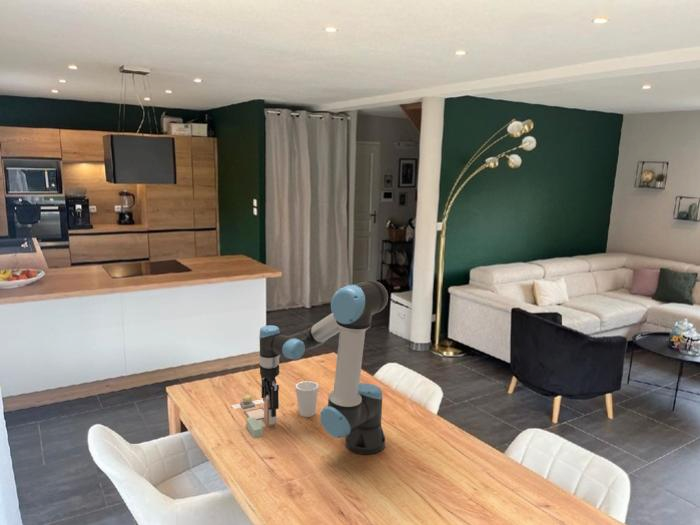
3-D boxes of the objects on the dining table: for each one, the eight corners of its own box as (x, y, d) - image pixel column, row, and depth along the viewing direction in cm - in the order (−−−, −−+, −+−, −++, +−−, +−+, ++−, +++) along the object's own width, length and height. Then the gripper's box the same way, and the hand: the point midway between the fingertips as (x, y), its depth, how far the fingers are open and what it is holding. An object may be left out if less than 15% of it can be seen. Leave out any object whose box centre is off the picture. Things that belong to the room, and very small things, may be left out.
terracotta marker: (275, 425, 207) (275, 396, 205) (267, 427, 205) (267, 398, 203) (272, 421, 210) (272, 393, 208) (264, 423, 208) (264, 394, 206)
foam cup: (307, 422, 211) (307, 392, 209) (290, 415, 217) (291, 386, 214) (322, 414, 219) (323, 385, 216) (306, 407, 224) (306, 379, 222)
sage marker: (262, 436, 198) (262, 428, 198) (254, 438, 197) (254, 430, 196) (253, 423, 207) (253, 415, 206) (245, 425, 205) (245, 417, 205)
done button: (252, 400, 222) (252, 396, 221) (244, 402, 220) (244, 398, 220) (250, 397, 225) (249, 393, 224) (241, 399, 223) (241, 394, 223)
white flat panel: (286, 428, 206) (286, 424, 205) (252, 437, 199) (252, 432, 199) (262, 400, 230) (262, 396, 229) (231, 407, 223) (231, 402, 223)
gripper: (287, 371, 197) (287, 428, 201) (270, 355, 213) (270, 408, 217) (268, 375, 193) (269, 432, 198) (252, 358, 209) (253, 412, 213)
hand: (270, 420), depth 207 cm, fingers open, 5 cm apart
